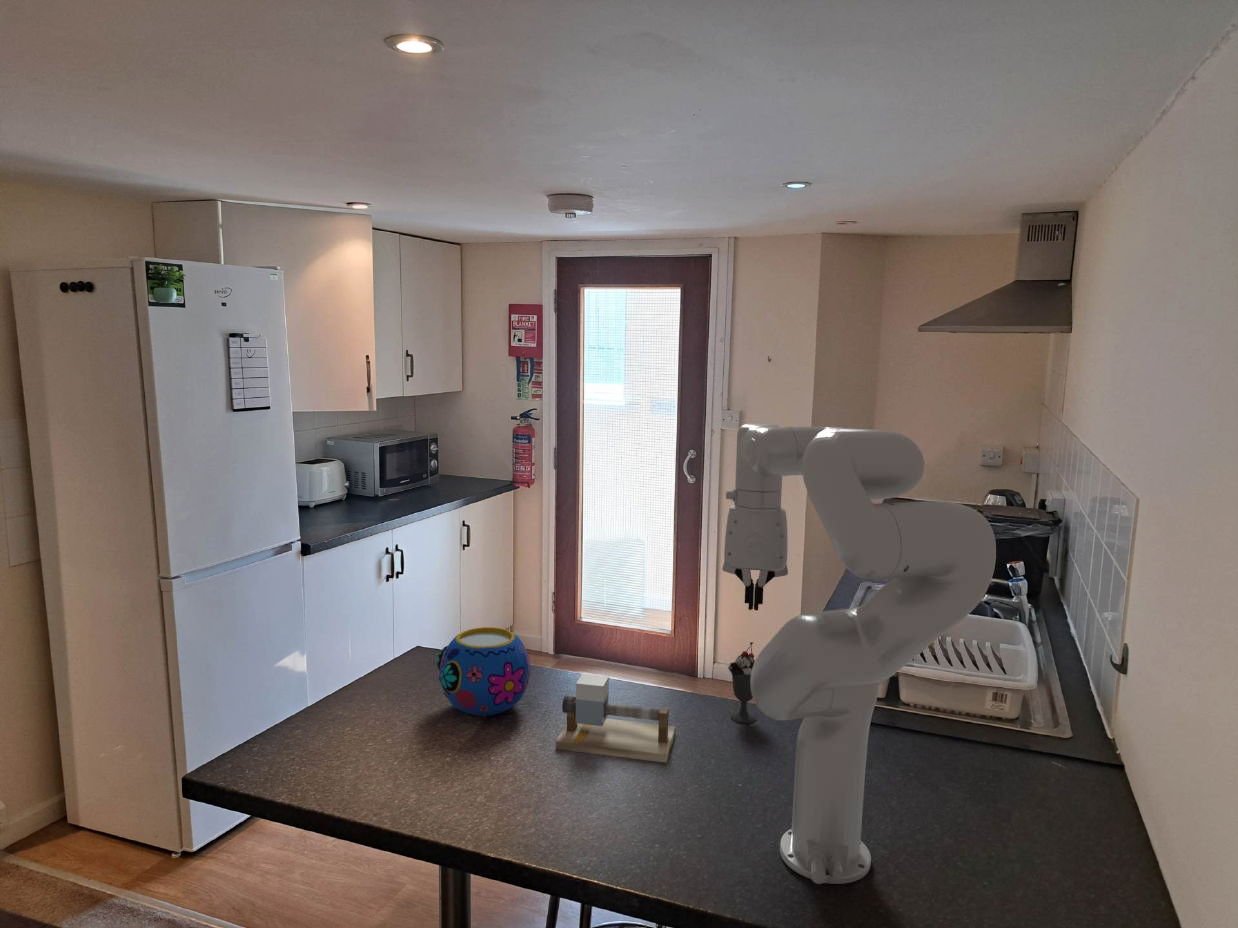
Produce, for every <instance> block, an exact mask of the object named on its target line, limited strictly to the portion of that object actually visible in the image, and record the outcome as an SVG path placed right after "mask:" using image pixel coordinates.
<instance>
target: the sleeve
mask: <svg viewBox="0 0 1238 928" xmlns="http://www.w3.org/2000/svg"><path fill="white" fill-rule="evenodd" d="M609 678H610V676H609V675H599V674H591V673H582V674H581V676H579V679H578V680H577V681H576V683H575V697H576V723H578V724H587V725H595V726H603V724H604V722H605V720H606V718H607V719H608V716H609V715H605V714H604V703H609V686H610V685H609V683H610V681H609V680H610V679H609Z"/></svg>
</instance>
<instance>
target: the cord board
mask: <svg viewBox="0 0 1238 928" xmlns="http://www.w3.org/2000/svg"><path fill="white" fill-rule="evenodd" d="M561 705H562V706H561V709H562V713H563V714H566V724H565V725H564V727H563V728H562V730H561V732H560V734H559V735H558V736H557V739H556V740H555V749H556V750H562V751H570V752H578V753H579V752H580V753H586V754H593V755H604V756H610V757H618V758H625V759H626V758H627V759H634V760H642V761H648V762H649V761H651V762H658V763H666V764H667V762H668V759H669V755H670V751H671V749H672V746H673V743H674V740H675V739H674V738H675V736H676V725H669V710H670V709H669V707H666V706H665V707H664V706H660V708H654V707H653V708H652V707H645V706H644V707H643V706H635V705H627V704H626V705H625V704H618V703H617V704H615V703H609V702H608V703H604V714H605V715H608V716H614V717H622V718H623V717H624V718H630V719H631V718H633V719H638V720H639V719H640V720H649V721H658V724H657V723H648V722H641V721H640V722H639V721H631V720H622V719H615V718H608V717H607V718H606V720H605V722H604V724H603V726H595V725H587V724H578V723H576V696H572V695H571V696H569V695H565V696H564V697H563V700H562V704H561Z"/></svg>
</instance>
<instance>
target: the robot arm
mask: <svg viewBox="0 0 1238 928" xmlns="http://www.w3.org/2000/svg"><path fill="white" fill-rule="evenodd" d="M735 454H736V455H735V456H736V457H735V481H734V482H735V488H733V490H726V492H725V499H727V500H730V501H732V502H734V504H733V505H731V506H730V507H729V510H728V514H727V518H726V524H725V525H726V526H725V536H724V549H723V560H724V562H723V565H722V567H721V568H722V569H721V570H722V571H723V572H725V573H728V574H732V575H735V576H736V577H737V578H738V579H739V581H741V583H743V585H744V604H748V611H752V610H754V611H759V607H760V606H759V605H763V604H764V587H765V586H766V585H767V584H768V583H769V582H771V580H772V579H773V580H774V578H780V577H786V576H788V574H789V570H788V564H787V563H788V548H789V547H788V541H789V540H788V520H787V519H788V518H787V512H786V509H785V508H784V507H783V506H782V494H783V493H782V491H783V486H782V485H783V477H787V476H802V479H803V482H804V485H805V486H804V487H805V488H806V492H807V493H808V496H809V499H810V501H811V502H812V505H813V506H814V509H815V511H816V513H817V515H818V517H819V519H820V521H821V523H822V525H823V527H824V529H825V531H826V533H827V535H828V537H829V539H830V542H831V544H832V547H833V548H834V550H835V553H836V554H837V557H838V558H839V559H840V561H841V562H842V564H843V565H844V567H845V568H846V569H847V570H848V571H849V572H850V573H852V574H853V575H855V576H857V577H858V578H861V579H865V580H866V579H867V580H888V579H889V580H890V579H892V580H891V581H889V582H887V583H885V584H884V585H883V586H882V587H880V588H878V590H877V591H875V593H874V594H873V595H872V596H871V597H870V598H869V599H868V600H867V601H866V602H864V603H863V604H861V605H860V606H857V607H851V608H841V609H834V610H824V611H814V612H813V611H812V612H807V613H802V614H799V615H797V616H795V617H793V618H791V619H789V620H788V621H787V622H786V623H784V624H783V626H782V627H781V628H780V629H779V630H778V631H777V633H776V634H775V635H774V636H773V637H772V638H771V639H770V640H769V642H768V643H767V644H766V645H765V646H764V647H763V648H762V650H761V651H760V652H759V654H757V657H756V659H755V662H754V665H753V668H752V672H751V679H750V686H751V693H752V697H753V698H752V700H753V701H754V703H755V706H756V707H757V708H758V710H759V711H760V712H761V714H764V715H765V716H767V717H768V718H770V719H772V720H776V721H792V720H793V721H794V720H798V719H800V720H801V719H802V720H801V721H802V722H801V723H800V727H799V729H798V733H797V736H796V737H797V738H796V749H795V763H794V785H793V802H792V820H791V821H792V822H791V829H788V830H786V832H784V833H783V835H782V836H781V838H780V841H779V854H780V857H781V859H782V860H783V862H784V863H785V864H786V865H787V866H788V867H789V868H790V869H791V870H792V871H794V872H796V873H797V874H799V875H800V876H803V877H804V878H807V879H810V880H811V881H812V882H813V883H815V884H816V885H817V884H818V885H821V884H831V885H832V884H833V885H845V884H850V883H854V882H857V881H858V880H861V879H863V878H864V877H865V876H866V875H868V873H869V872H870V869H871V865H872V855H871V852H870V850H869V849H868V847H867V846H866V844H865V843H864V842H863V841H862V839H861V837H862V822H863V811H864V809H863V808H864V794H865V779H866V766H867V756H868V755H867V754H868V746H869V745H868V742H869V735H870V727H871V721H872V717H873V713H874V711H875V710H874V709H875V707H876V702H877V699H878V695H879V690H880V686H881V685H880V684H881V682H883V681H885V680H888V679H890V678H891V677H892V676H894V675H896V674H897V673H898V672H899V671H900V670H901V669H902V668H904V667H905V666H906V665H908V664H909V663H910V662H911V661H912V660H914V659H915V658H916V657H917V656H918V655H920V654H921V653H922V652H924V651H925V650H926V649H927V648H928V647H929V646H931V644H933V643H934V642H936V641H937V640H938V639H939V638H940V637H942V636H943V635H944V634H946V633H947V632H949V631H951V629H953V628H955V626H957V625H958V624H959V623H961V622H962V621H963V620H964V619H966V617H967V616H968V615H969V614H971V613H972V612H973V610H975V609H976V608H977V606H978V605H979V603H980V602H981V601H982V599H983V598H984V597H985V595H986V594H987V591H988V590H989V587H990V585H991V583H992V578H993V575H994V571H995V567H996V559H997V545H996V544H997V543H996V538H995V534H994V530H993V528H992V526H991V524H990V522H989V521H988V520H987V518H986V517H985V516H984V515H983V514H982V513H981V512H979V511H978V510H976V509H975V508H973V507H970V506H968V505H967V506H966V505H964V504H962V503H961V504H960V503H957V502H951V501H937V500H932V501H929V500H926V501H905V502H904V501H903V502H885V503H884V502H882V503H874V502H873V501H872V500H886V499H887V500H888V499H893V498H898V497H901V496H903V495H905V494H907V493H910V491H913V489H914V488H915V487H917V486H918V484H919V482H920V481H921V480H922V477H923V475H924V472H925V458H924V454H923V453H922V450H921V449H920V447H919V446H918V444H917V443H916V442H915V441H913V440H912V439H911V438H910V437H908V436H906V435H905V434H901V433H900V432H895V431H891V430H886V429H885V430H884V429H883V430H882V429H870V428H869V429H868V428H855V427H854V428H853V427H839V426H833V427H832V426H831V427H828V426H780V425H776V424H772V423H771V424H770V423H746V424H742V425H741V426H740V427H739V428H738V430H737V434H736V453H735ZM752 570H753V571H759V574H758V578H757V579H756V582H755V583H754V580H753V578H752V573H751V571H752Z"/></svg>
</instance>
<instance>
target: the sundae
mask: <svg viewBox="0 0 1238 928" xmlns="http://www.w3.org/2000/svg"><path fill="white" fill-rule="evenodd" d="M753 644H754V641H751V642H749V647H748V648H747V649H746V650H743V651H742V652H741V654H740V655H738V656H737V657H736V658H735V661H734V662H730V663H729V666H727V668H728V671H729V672H730V674H731V677H732V688H733V693H734V696H735V698H736V699H737V700H739V702H740V709H739V711H735V712H733V713H732V714H731V715H730V719H731V720H732V721H733V722H735V723H738V724H741V725H742V724H743V725H744V724H745V725H747V724H753V723H755V721H756V720H757V717H756V715H754V714H753V713H751V712H748V710H747V709H748V708H747V706H748V705H747V704H748V702H750V701H752V700H753V697H752V693H751V686H750V679H751V672H752V668H753V665H754V662H755V660H756V659H755V655H754V653H753V646H752V645H753ZM749 649H750V651H751V653H749V652H748V651H749Z"/></svg>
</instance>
